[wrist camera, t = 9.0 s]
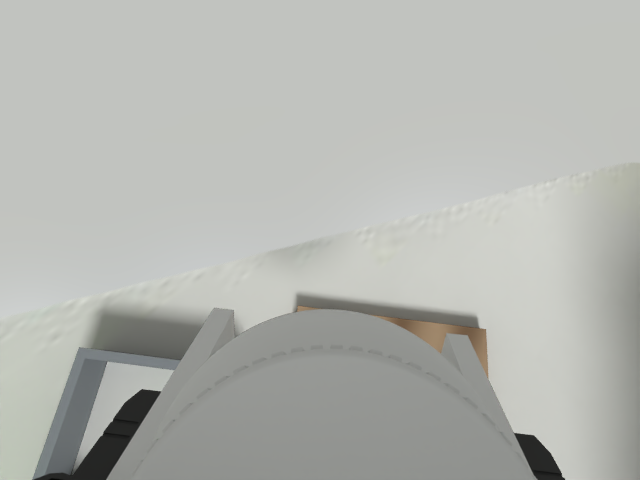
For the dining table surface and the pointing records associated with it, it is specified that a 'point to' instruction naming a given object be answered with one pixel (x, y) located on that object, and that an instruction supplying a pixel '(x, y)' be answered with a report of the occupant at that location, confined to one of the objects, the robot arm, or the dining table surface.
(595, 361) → the dining table surface
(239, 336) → the pill bottle
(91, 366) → the bin
